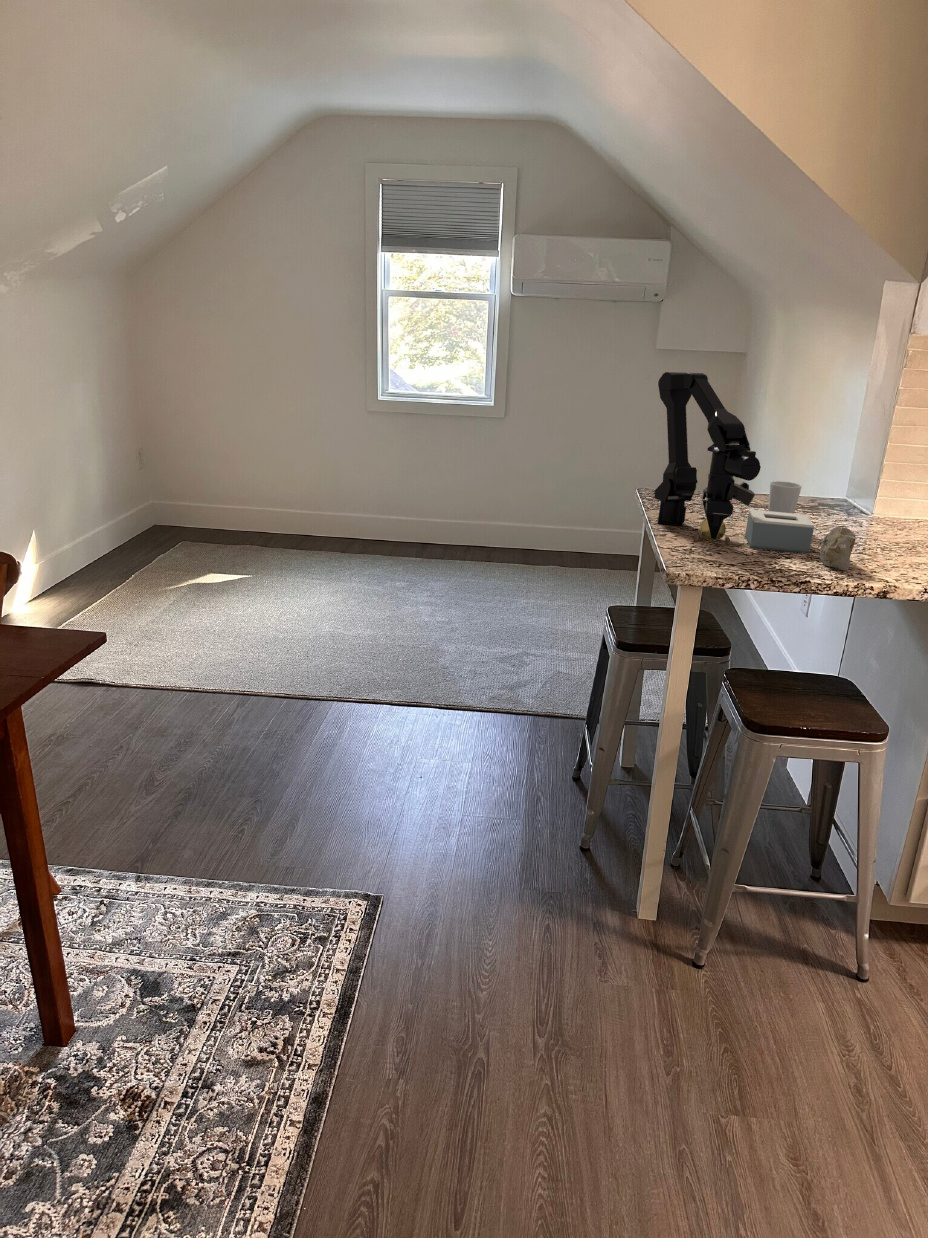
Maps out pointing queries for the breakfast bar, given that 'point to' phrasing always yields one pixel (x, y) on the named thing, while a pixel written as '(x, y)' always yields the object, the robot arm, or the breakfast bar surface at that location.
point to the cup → (783, 496)
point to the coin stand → (725, 538)
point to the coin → (706, 531)
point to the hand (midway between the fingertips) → (712, 534)
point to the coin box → (779, 531)
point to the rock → (837, 548)
